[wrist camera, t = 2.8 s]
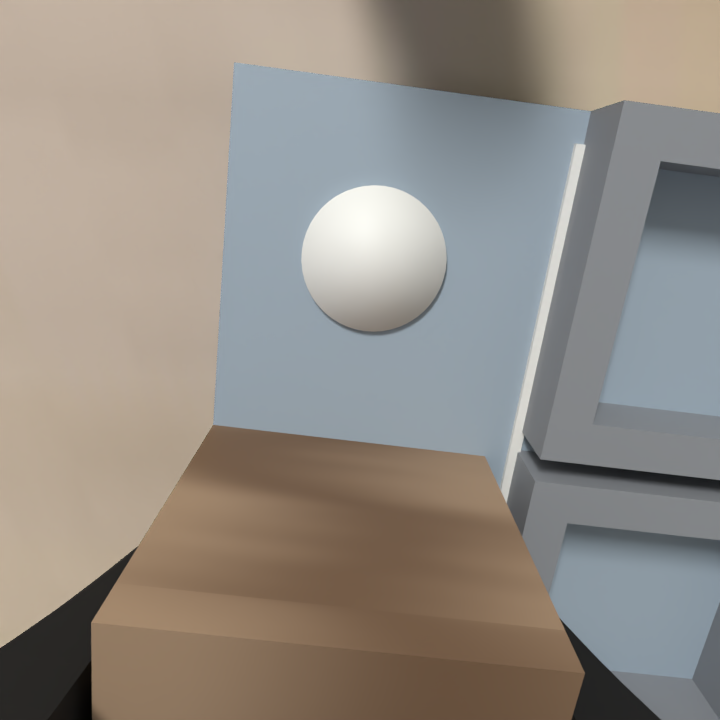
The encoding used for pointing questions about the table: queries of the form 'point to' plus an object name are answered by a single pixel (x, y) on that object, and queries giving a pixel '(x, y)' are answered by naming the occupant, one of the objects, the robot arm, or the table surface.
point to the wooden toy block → (331, 593)
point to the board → (501, 328)
